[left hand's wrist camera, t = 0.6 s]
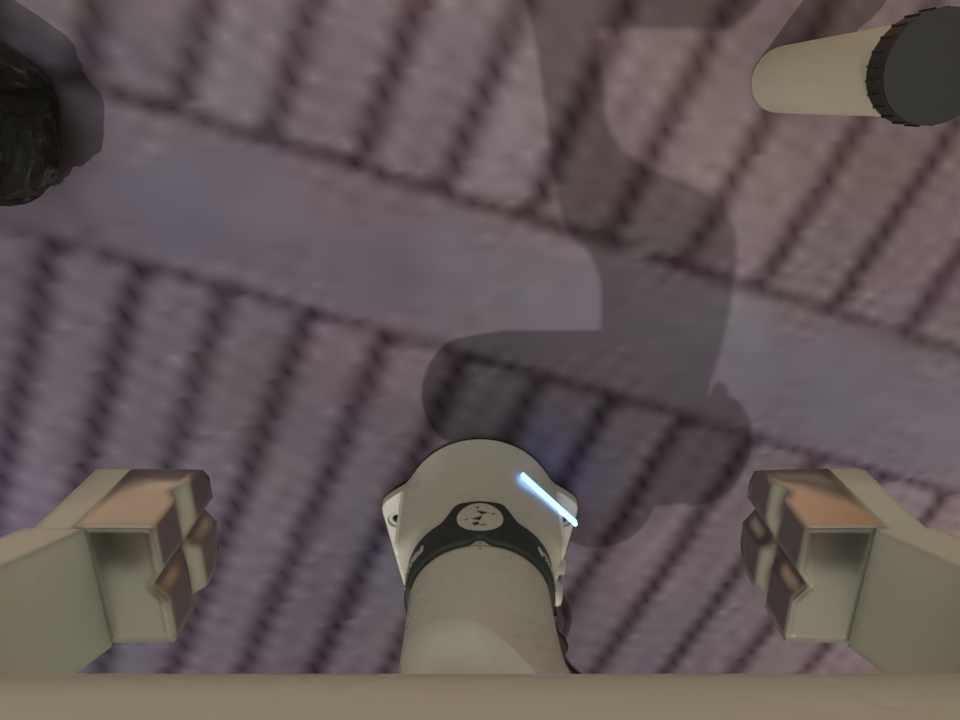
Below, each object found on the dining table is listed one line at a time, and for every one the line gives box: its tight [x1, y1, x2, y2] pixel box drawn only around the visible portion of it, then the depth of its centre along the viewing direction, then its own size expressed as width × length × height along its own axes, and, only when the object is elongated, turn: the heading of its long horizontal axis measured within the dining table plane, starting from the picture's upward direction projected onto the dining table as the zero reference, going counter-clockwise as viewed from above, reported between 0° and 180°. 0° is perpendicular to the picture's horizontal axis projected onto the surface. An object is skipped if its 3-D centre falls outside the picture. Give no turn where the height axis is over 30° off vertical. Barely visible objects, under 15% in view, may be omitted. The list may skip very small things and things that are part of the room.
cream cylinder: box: [751, 25, 891, 116], centre depth 44 cm, size 5×5×19 cm
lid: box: [865, 6, 960, 127], centre depth 35 cm, size 6×6×2 cm
